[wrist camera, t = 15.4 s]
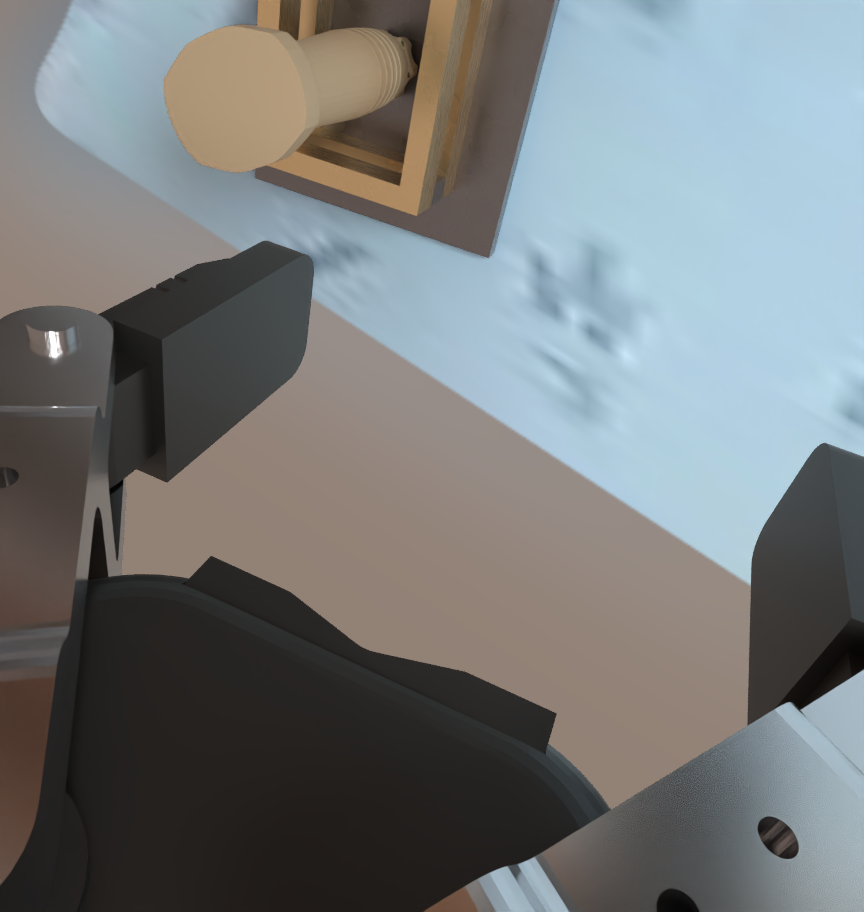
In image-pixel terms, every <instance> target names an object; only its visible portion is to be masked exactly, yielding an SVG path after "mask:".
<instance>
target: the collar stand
mask: <svg viewBox="0 0 864 912" xmlns="http://www.w3.org/2000/svg"><path fill="white" fill-rule="evenodd" d="M558 4H559V0H258V14H257V26H260V27H266V28H271V29H276V30H280V31H284V32H287V33H289V34H290V35H291V36H292V37H293V38H294V39H295V40H300V39H303V38H307V37H310V36H314V35H317V34H321V33H324V32H327V31H331V30H336V29H345V28H373V29H381V30H385V31H387V32H388V33H389V34H391V35H392V36H395V37H405V38H407V39H408V40H409V41H410V42H411V44H412V47H411V52H412V57H413V60H414V62H415V64H417V66H418V69H417V75H416V76H414V77H413V78H411V79H410V80H409V81H408V83H407V84H406V86H405V90H404V93H403V94H402V95H401V96H400V97H398V98H397V99H395V100H393V101H391V102H389V103H388V104H386V105H385V106H383V107H381V108H379V109H377V110H375V111H373V112H371V113H369V114H366V115H364V116H361V117H359V118H356V119H352V120H348V121H343V122H338V123H334V124H329V125H324V126H320V127H316V128H315V129H314V130H313V132H312V133H311V134H310V135H309V137H308V138H307V139H306V140H305V141H304V142H303V144H302V145H301V146H300V147H299V148H298V149H297V150H296V151H295V152H294V153H293V154H292V155H291V156H289V157H287V158H285V159H283V160H280V161H277V162H275V163H272V164H269V165H266V166H263V167H259V168H256V177H255V178H257V179H260V180H263V181H266V182H269V183H272V184H275V185H278V186H281V187H284V188H287V189H289V190H292V191H295V192H298V193H301V194H304V195H307V196H310V197H313V198H316V199H319V200H321V201H324V202H327V203H330V204H333V205H336V206H339V207H342V208H345V209H348V210H351V211H353V212H356V213H359V214H362V215H365V216H368V217H371V218H374V219H377V220H380V221H383V222H386V223H388V224H391V225H394V226H397V227H400V228H403V229H406V230H409V231H412V232H415V233H418V234H420V235H423V236H426V237H429V238H432V239H435V240H438V241H441V242H444V243H447V244H450V245H452V246H455V247H458V248H461V249H464V250H467V251H470V252H473V253H476V254H479V255H482V256H485V257H487V258H489V257H490V256H491V255H492V254H493V253H494V250H495V246H496V242H497V238H498V235H499V231H500V227H501V223H502V219H503V215H504V211H505V208H506V204H507V200H508V196H509V192H510V188H511V185H512V181H513V177H514V173H515V169H516V165H517V161H518V158H519V154H520V150H521V146H522V142H523V138H524V134H525V131H526V127H527V123H528V119H529V115H530V111H531V107H532V104H533V100H534V96H535V92H536V88H537V84H538V81H539V77H540V73H541V69H542V65H543V61H544V57H545V54H546V50H547V46H548V42H549V38H550V34H551V30H552V27H553V23H554V19H555V15H556V11H557V7H558Z"/></svg>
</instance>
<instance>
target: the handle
mask: <svg viewBox="0 0 864 912" xmlns="http://www.w3.org/2000/svg"><path fill="white" fill-rule="evenodd" d="M411 47H412V44H411V42H410V41H409V40H408V39H407V38H405V37H395V36H392V35H391V34H389V33H388V32H387V31H385V30H381V29H373V28H345V29H336V30H331V31H327V32H324V33H321V34H317V35H314V36H310V37H307V38H303V39H300V40H295V39H294V38H293V37H292V36H291V35H290V34H289V33H287V32H284V31H280V30H276V29H271V28H266V27H260V26H254V25H244V24H241V25H233V26H227V27H223V28H220V29H216V30H214V31H212V32H209V33H207V34H205V35H203V36H200V37H198V38H196V39H195V40H193V41H191V42H190V43H188V44H187V45H186V46H185V47H184V49H183V50H182V51H181V52H180V54H179V55H178V57H177V58H176V60H175V61H174V63H173V65H172V66H171V68H170V70H169V71H168V73H167V75H166V76H165V78H164V95H165V102H166V106H167V111H168V114H169V117H170V120H171V122H172V125H173V127H174V130H175V132H176V134H177V136H178V138H179V140H180V141H181V143H182V144H183V146H184V148H185V149H186V150H187V152H188V153H189V154H190V155H191V156H192V157H193V158H194V159H195V160H196V161H197V162H198V163H199V164H201V165H204V166H208V167H212V168H215V169H219V170H223V171H228V172H236V173H239V172H245V171H250V170H253V169H256V168H259V167H263V166H266V165H269V164H272V163H275V162H277V161H280V160H283V159H285V158H287V157H289V156H291V155H292V154H293V153H294V152H295V151H296V150H297V149H298V148H299V147H300V146H301V145H302V144H303V142H304V141H305V140H306V139H307V138H308V137H309V135H310V134H311V133H312V132H313V130H314V129H315V128H316V127H320V126H324V125H329V124H334V123H338V122H343V121H348V120H352V119H356V118H359V117H361V116H364V115H366V114H369V113H371V112H373V111H375V110H377V109H379V108H381V107H383V106H385V105H386V104H388V103H389V102H391V101H393V100H395V99H397V98H398V97H400V96H401V95H402V94H403V93H404V90H405V86H406V84H407V83H408V81H409V80H410V79H411V78H413V77H414V76H416V75H417V69H418V66H417V64H415V62H414V60H413V57H412V52H411Z"/></svg>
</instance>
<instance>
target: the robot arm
mask: <svg viewBox="0 0 864 912" xmlns="http://www.w3.org/2000/svg"><path fill="white" fill-rule="evenodd" d="M313 276H314V266H313V262H312V259H311V258H310V257H309V256H308V255H305V254H302V253H300V252H297V251H294V250H291V249H289V248H286V247H283V246H280V245H277V244H275V243H272V242H269V241H263V242H260V243H258V244H257V245H255V246H253V247H251V248H249V249H247V250H245V251H243V252H241V253H239V254H238V255H236V256H234V257H232V258H230V259H222V260H217V261H212V262H207V263H201V264H197V265H195V266H193V267H191V268H189V269H187V270H185V271H183V272H181V273H179V274H177V275H176V276H175V278H174V279H172V278H169V279H167V280H165V281H163V282H162V283H159V284H157V286H156V288H152V287H151V288H150V289H148V290H146V291H144V292H142V293H140V294H138V295H136V296H134V297H132V298H130V299H128V300H126V301H124V302H122V303H120V304H118V305H116V306H114V307H112V308H110V309H108V310H106V311H104V312H102V313H100V314H96V313H93V312H91V311H88V310H84V309H80V308H75V307H68V306H39V307H33V308H27V309H23V310H19V311H16V312H13V313H10V314H8V315H6V316H4V317H3V318H1V319H0V912H864V457H863V456H860V455H857V454H854V453H852V452H849V451H846V450H843V449H840V448H838V447H835V446H832V445H829V444H827V443H823V444H820V445H819V446H818V447H817V448H816V449H815V450H814V451H813V452H812V453H811V455H810V456H809V458H808V459H807V461H806V462H805V464H804V465H803V467H802V468H801V470H800V471H799V473H798V474H797V476H796V477H795V479H794V480H793V482H792V484H791V485H790V487H789V488H788V490H787V491H786V493H785V494H784V496H783V497H782V499H781V500H780V502H779V503H778V505H777V506H776V508H775V509H774V511H773V512H772V514H771V516H770V517H769V519H768V520H767V522H766V523H765V525H764V527H763V529H762V531H761V533H760V535H759V537H758V540H757V543H756V545H755V549H754V552H753V557H752V567H751V608H750V609H751V610H750V648H749V650H750V651H749V688H748V726H747V727H745V728H743V729H742V730H740V731H738V732H737V733H735V734H734V735H732V736H730V737H729V738H727V739H725V740H724V741H722V742H721V743H719V744H717V745H716V746H714V747H712V748H711V749H709V750H708V751H706V752H705V753H703V754H701V755H699V756H698V757H696V758H695V759H693V760H691V761H690V762H688V763H687V764H685V765H683V766H682V767H680V768H679V769H677V770H675V771H673V772H672V773H670V774H669V775H667V776H665V777H664V778H662V779H660V780H659V781H657V782H656V783H654V784H652V785H651V786H649V787H648V788H646V789H644V790H643V791H641V792H639V793H638V794H636V795H634V796H633V797H631V798H630V799H628V800H626V801H625V802H623V803H621V804H620V805H618V806H617V807H615V808H614V809H612V810H611V809H610V808H609V806H608V805H607V803H606V802H605V801H604V799H603V798H602V796H601V795H600V794H599V792H598V791H597V790H596V789H595V788H594V787H593V785H592V784H591V783H590V782H589V781H588V780H587V778H586V777H585V776H584V775H583V774H582V773H581V772H580V771H579V770H578V769H577V768H576V767H575V766H574V765H573V764H572V763H571V762H570V761H569V760H567V759H566V758H565V757H564V756H563V755H562V754H561V753H560V752H558V751H557V750H556V749H554V748H553V747H552V746H551V745H549V744H548V742H549V738H550V735H551V731H552V728H553V724H554V721H555V717H556V713H554V712H552V711H550V710H548V709H545V708H543V707H541V706H539V705H536V704H535V703H532V702H530V701H528V700H526V699H524V698H521V697H519V696H517V695H515V694H513V693H510V692H508V691H506V690H504V689H502V688H499V687H497V686H495V685H493V684H491V683H489V682H486V681H484V680H482V679H480V678H478V677H475V676H473V675H471V674H469V673H467V672H463V671H459V670H454V669H449V668H445V667H440V666H436V665H431V664H427V663H422V662H417V661H413V660H408V659H404V658H399V657H394V656H390V655H385V654H381V653H376V652H372V651H369V650H367V649H364V648H362V647H360V646H359V645H358V644H356V643H355V642H354V641H352V640H351V639H350V638H348V637H347V636H346V635H345V634H343V633H342V632H341V631H340V630H338V629H337V628H336V627H334V626H333V625H332V624H330V623H329V622H328V621H327V620H325V619H324V618H323V617H321V616H320V615H319V614H318V613H316V612H315V611H313V609H311V608H310V607H309V606H307V605H306V604H305V603H304V602H302V601H301V600H300V599H298V598H297V597H296V596H295V595H293V594H292V593H291V592H289V591H287V590H285V589H283V588H280V587H278V586H276V585H274V584H271V583H269V582H267V581H265V580H263V579H261V578H258V577H256V576H254V575H252V574H250V573H248V572H245V571H243V570H241V569H239V568H237V567H234V566H232V565H230V564H228V563H225V562H223V561H221V560H219V559H217V558H215V557H212V556H211V557H210V558H209V559H208V560H207V561H206V562H205V563H204V564H203V565H202V566H201V567H200V568H199V569H198V570H197V571H196V572H195V573H194V574H193V575H192V576H191V577H190V578H189V579H188V578H183V577H175V576H165V575H148V574H146V575H145V574H135V575H122V560H123V544H124V528H125V527H124V526H125V511H126V494H127V493H126V482H125V477H127V476H128V475H129V474H130V473H132V472H133V471H134V470H136V469H137V470H140V471H142V472H144V473H147V474H149V475H151V476H154V477H156V478H158V479H160V480H162V481H165V482H168V481H169V480H171V479H172V478H173V477H174V476H175V475H177V474H178V473H179V472H180V471H181V470H183V469H184V468H185V467H186V466H187V465H189V464H190V463H191V462H192V461H193V460H194V459H196V458H197V457H198V456H199V455H200V454H202V453H203V452H204V451H205V450H206V449H207V448H209V447H210V446H211V445H212V444H213V443H215V442H216V441H217V440H218V439H219V438H221V437H222V435H224V434H225V433H226V432H228V431H229V430H230V429H231V428H232V427H234V426H235V425H236V424H237V423H238V422H239V421H241V420H242V419H243V418H244V417H245V416H246V415H248V414H249V413H250V412H251V411H252V410H254V409H255V408H256V407H257V406H258V405H260V404H261V403H262V402H263V401H264V400H265V399H266V398H268V397H269V396H270V395H271V394H272V393H274V392H275V391H276V390H277V389H278V388H280V387H281V386H282V385H283V384H284V383H286V382H287V381H288V380H289V379H290V378H291V377H292V376H293V375H294V374H295V372H296V370H297V369H298V367H299V365H300V363H301V361H302V359H303V356H304V353H305V349H306V343H307V335H308V325H309V315H310V306H311V296H312V286H313Z"/></svg>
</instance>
